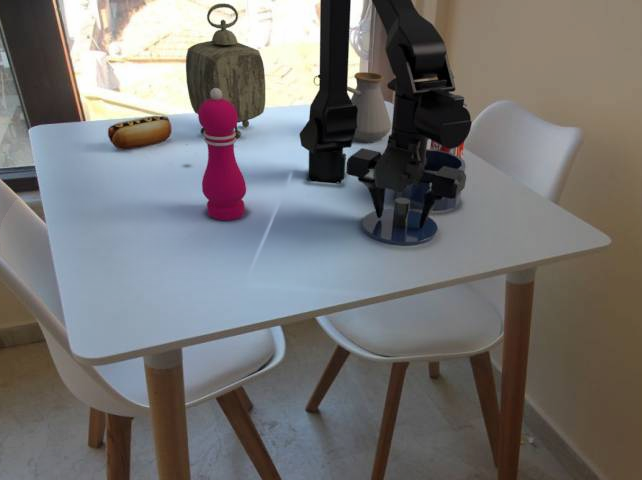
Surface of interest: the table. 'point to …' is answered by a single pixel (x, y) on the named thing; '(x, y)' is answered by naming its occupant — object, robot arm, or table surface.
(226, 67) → the tabletop clock
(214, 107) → the pepper mill
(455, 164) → the pot
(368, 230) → the lid
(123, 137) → the hot dog
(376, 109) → the coffee pot
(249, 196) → the table surface
